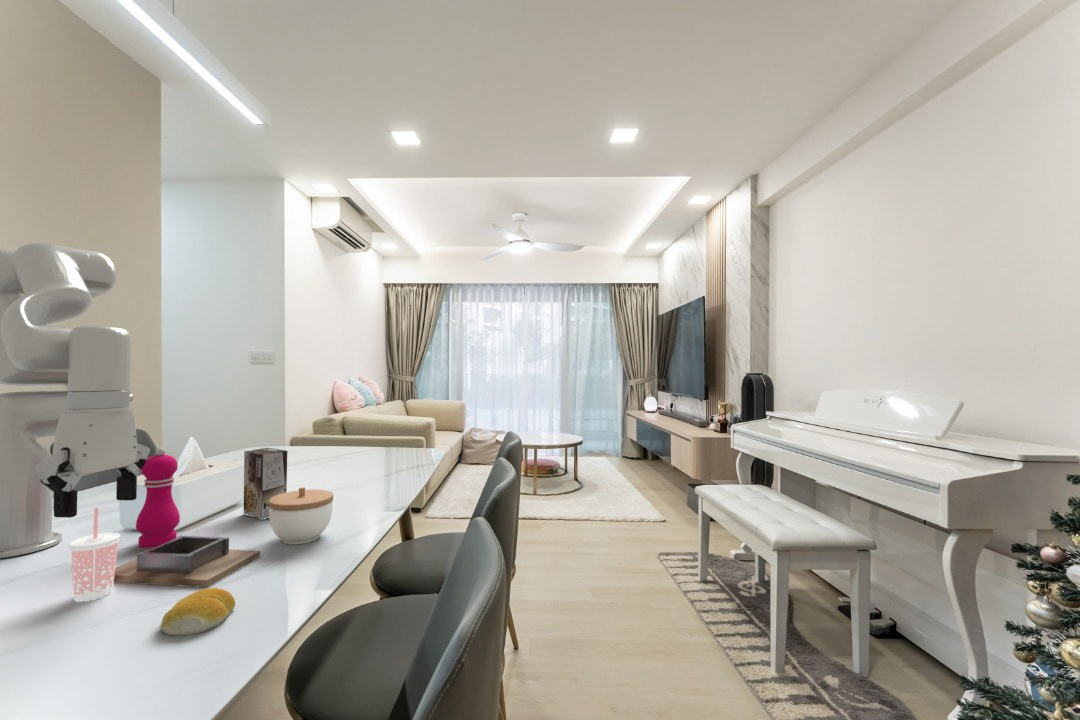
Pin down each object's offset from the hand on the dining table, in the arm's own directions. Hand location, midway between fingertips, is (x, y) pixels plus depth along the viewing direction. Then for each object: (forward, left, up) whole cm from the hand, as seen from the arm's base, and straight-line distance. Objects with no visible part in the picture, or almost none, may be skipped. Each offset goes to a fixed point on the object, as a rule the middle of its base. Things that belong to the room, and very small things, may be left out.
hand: (97, 507), depth 77 cm
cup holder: (+5, +11, -14) cm, 19 cm away
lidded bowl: (+17, +28, -14) cm, 36 cm away
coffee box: (-2, +43, -14) cm, 46 cm away
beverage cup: (-1, 0, -14) cm, 14 cm away
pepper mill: (-11, +22, -14) cm, 29 cm away
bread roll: (+22, -5, -15) cm, 27 cm away
